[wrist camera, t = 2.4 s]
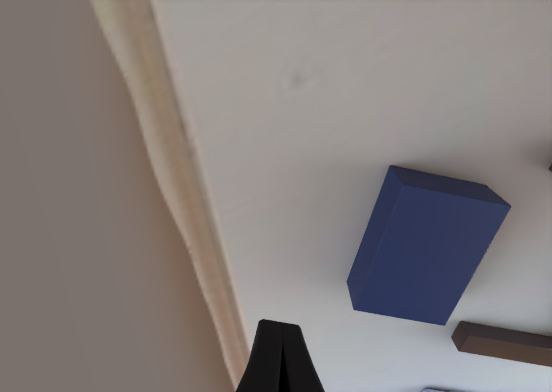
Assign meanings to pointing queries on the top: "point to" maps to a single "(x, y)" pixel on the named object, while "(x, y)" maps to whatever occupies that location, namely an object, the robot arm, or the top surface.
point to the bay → (503, 343)
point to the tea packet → (423, 245)
